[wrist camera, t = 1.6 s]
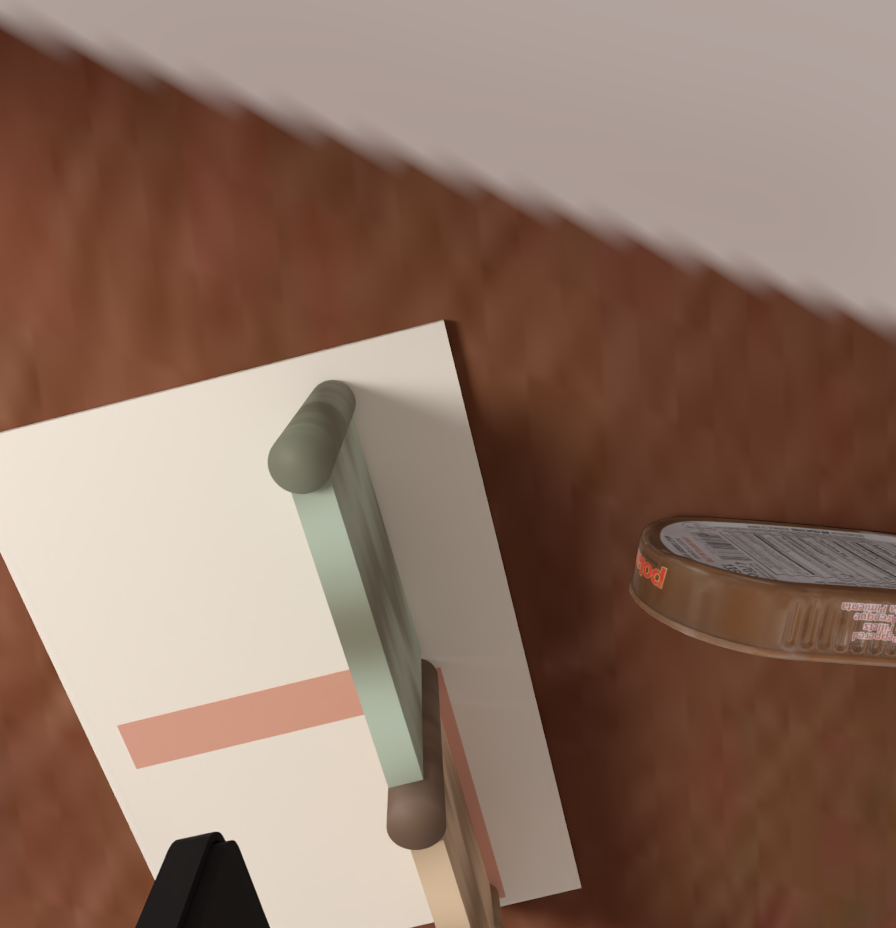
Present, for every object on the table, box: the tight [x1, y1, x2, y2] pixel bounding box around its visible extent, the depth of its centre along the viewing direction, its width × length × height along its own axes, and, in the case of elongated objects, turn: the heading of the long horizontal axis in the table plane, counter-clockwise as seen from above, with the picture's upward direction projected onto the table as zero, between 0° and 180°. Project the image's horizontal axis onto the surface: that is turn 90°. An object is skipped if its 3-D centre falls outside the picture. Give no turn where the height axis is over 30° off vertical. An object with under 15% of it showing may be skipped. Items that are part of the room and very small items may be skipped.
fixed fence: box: [386, 659, 503, 928], centre depth 30 cm, size 15×2×9 cm, turn 14°
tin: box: [629, 517, 896, 667], centre depth 27 cm, size 15×3×8 cm, turn 84°
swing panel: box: [268, 380, 423, 788], centre depth 25 cm, size 12×2×8 cm, turn 14°
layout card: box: [0, 320, 581, 928], centre depth 32 cm, size 29×20×1 cm
